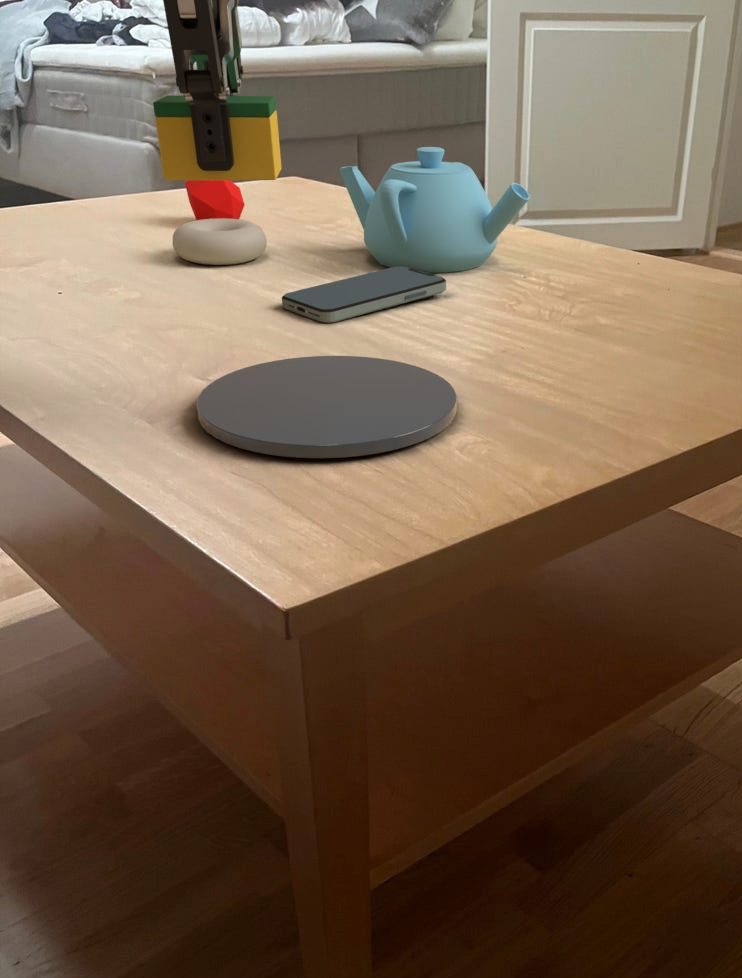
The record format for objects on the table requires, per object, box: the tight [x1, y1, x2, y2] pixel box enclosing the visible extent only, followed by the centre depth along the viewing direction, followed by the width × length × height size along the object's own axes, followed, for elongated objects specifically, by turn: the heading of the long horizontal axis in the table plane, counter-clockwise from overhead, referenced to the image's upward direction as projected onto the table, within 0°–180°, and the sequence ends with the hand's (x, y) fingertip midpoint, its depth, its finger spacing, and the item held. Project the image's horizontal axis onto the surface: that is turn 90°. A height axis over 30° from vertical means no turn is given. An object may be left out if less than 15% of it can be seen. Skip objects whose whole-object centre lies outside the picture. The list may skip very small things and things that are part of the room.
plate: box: [196, 355, 458, 459], centre depth 71 cm, size 18×18×1 cm
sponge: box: [152, 95, 282, 181], centre depth 64 cm, size 7×5×4 cm, turn 95°
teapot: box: [338, 146, 531, 274], centre depth 107 cm, size 15×17×11 cm
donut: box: [172, 218, 268, 266], centre depth 108 cm, size 10×4×10 cm
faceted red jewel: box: [184, 180, 246, 221], centre depth 123 cm, size 7×7×8 cm
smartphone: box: [281, 266, 447, 324], centre depth 95 cm, size 8×2×15 cm
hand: (221, 162), depth 65 cm, fingers closed on sponge, 4 cm apart
